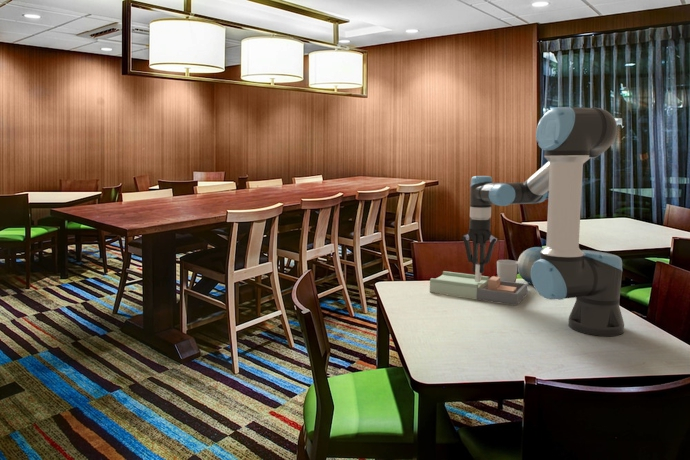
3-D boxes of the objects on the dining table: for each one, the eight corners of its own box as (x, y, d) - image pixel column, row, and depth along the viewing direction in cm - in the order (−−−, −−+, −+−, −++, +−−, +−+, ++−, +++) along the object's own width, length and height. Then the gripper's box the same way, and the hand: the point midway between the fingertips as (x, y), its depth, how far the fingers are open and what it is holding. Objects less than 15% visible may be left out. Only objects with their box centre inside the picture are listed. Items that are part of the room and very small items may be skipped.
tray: (516, 305, 179) (517, 294, 179) (476, 299, 187) (477, 288, 186) (526, 294, 193) (527, 283, 192) (489, 289, 200) (489, 279, 199)
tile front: (496, 288, 188) (495, 297, 188) (513, 291, 185) (512, 299, 185) (500, 285, 193) (499, 293, 193) (516, 287, 190) (516, 295, 190)
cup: (520, 289, 199) (521, 264, 198) (499, 289, 200) (500, 264, 198) (513, 284, 207) (515, 259, 206) (493, 284, 208) (494, 259, 206)
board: (476, 299, 187) (477, 285, 186) (429, 292, 196) (429, 278, 196) (488, 289, 200) (488, 276, 199) (443, 283, 209) (444, 270, 208)
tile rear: (487, 295, 190) (495, 296, 188) (488, 279, 189) (496, 280, 187) (491, 291, 195) (499, 292, 193) (492, 276, 194) (500, 277, 192)
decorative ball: (553, 291, 197) (555, 252, 195) (512, 286, 205) (514, 248, 202) (558, 282, 210) (561, 245, 208) (520, 277, 217) (522, 242, 215)
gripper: (500, 218, 190) (498, 281, 193) (466, 216, 197) (464, 276, 200) (495, 220, 184) (492, 285, 187) (459, 218, 190) (457, 281, 194)
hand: (478, 281), depth 194 cm, fingers closed
